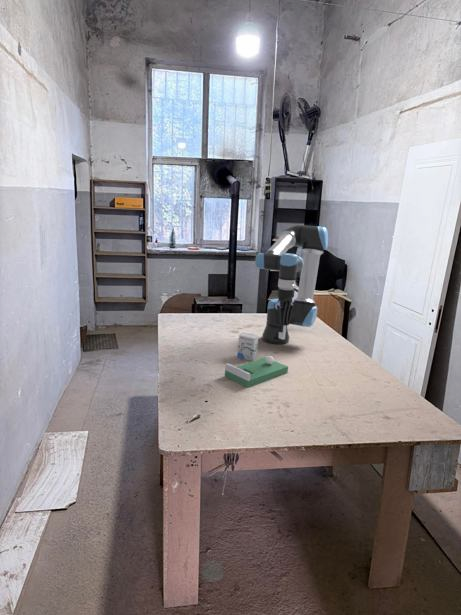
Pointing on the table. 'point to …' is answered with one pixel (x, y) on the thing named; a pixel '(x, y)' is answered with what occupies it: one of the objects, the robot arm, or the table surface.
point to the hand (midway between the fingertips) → (281, 338)
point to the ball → (269, 360)
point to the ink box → (247, 346)
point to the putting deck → (254, 372)
